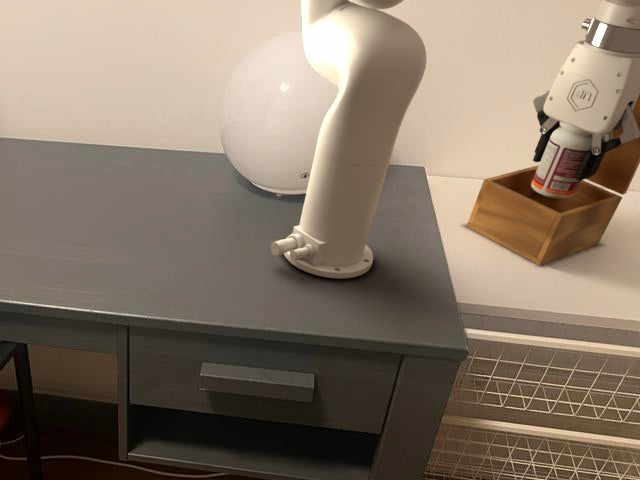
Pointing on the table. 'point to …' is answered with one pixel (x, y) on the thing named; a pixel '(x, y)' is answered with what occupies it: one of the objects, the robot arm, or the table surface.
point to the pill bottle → (562, 162)
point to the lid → (620, 161)
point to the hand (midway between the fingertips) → (561, 168)
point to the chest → (541, 216)
